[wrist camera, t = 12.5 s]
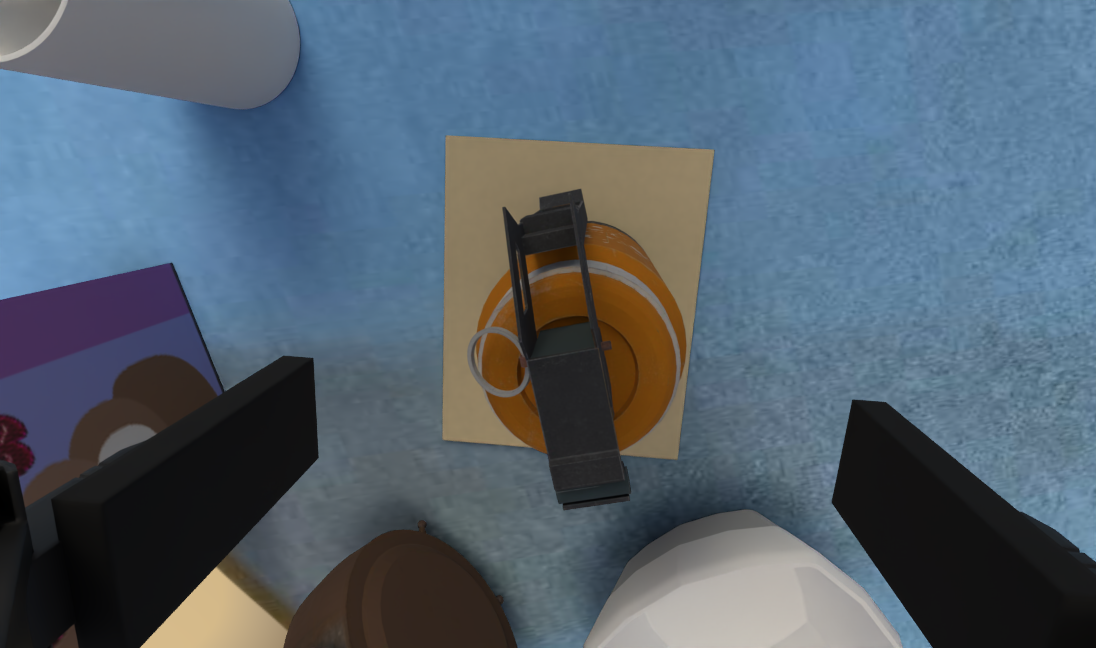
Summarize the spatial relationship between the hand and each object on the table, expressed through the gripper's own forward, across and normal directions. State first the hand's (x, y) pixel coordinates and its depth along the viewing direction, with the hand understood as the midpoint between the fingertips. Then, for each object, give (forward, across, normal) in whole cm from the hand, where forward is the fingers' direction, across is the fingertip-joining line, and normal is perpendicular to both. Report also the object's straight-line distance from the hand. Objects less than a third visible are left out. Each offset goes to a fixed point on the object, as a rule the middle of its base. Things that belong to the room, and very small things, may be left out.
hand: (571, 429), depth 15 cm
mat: (+24, -1, -3) cm, 24 cm away
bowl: (+24, +11, -23) cm, 35 cm away
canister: (+24, 0, 0) cm, 24 cm away
